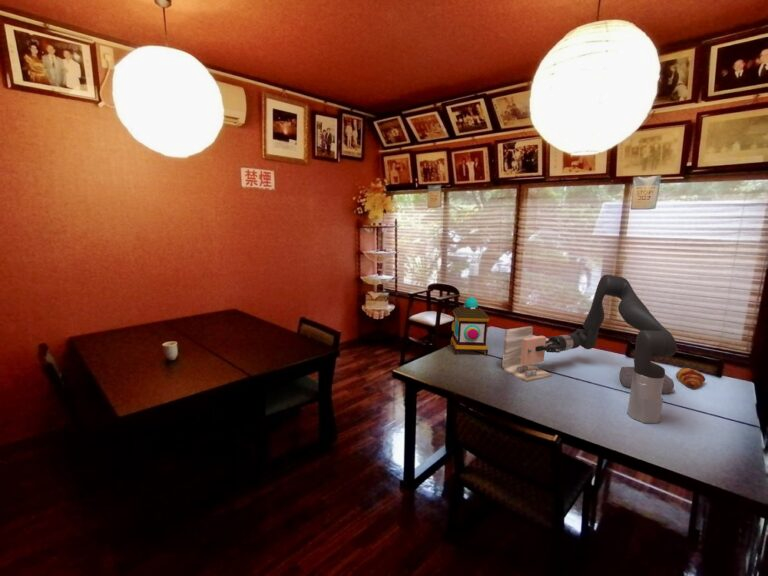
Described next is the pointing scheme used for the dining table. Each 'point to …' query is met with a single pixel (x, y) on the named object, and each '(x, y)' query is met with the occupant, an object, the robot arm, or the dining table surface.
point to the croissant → (690, 377)
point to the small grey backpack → (627, 376)
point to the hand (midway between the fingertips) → (533, 348)
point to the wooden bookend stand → (519, 356)
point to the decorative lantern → (469, 327)
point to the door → (532, 350)
